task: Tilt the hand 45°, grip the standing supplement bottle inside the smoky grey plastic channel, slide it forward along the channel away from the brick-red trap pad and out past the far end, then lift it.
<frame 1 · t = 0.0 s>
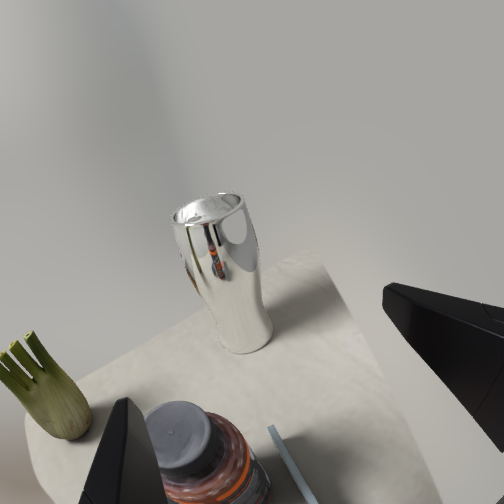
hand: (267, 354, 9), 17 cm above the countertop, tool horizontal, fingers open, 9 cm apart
supplement bottle: (234, 493, 18), on the countertop
fennel bulb: (79, 428, 25), on the countertop
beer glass: (246, 334, 34), on the countertop
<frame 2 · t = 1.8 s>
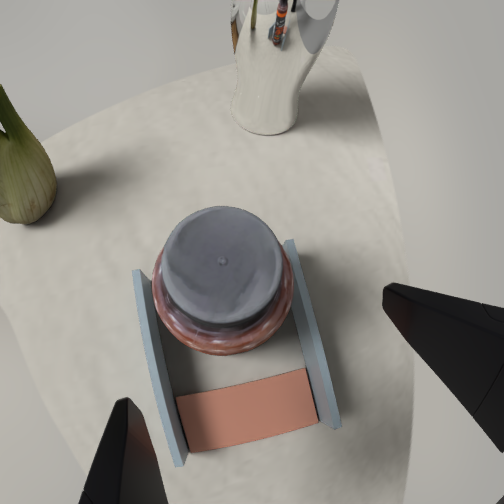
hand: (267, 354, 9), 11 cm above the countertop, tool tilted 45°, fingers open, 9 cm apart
channel: (233, 355, 20), on the countertop
supplement bottle: (223, 311, 21), on the countertop
fennel bulb: (39, 204, 22), on the countertop
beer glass: (263, 112, 27), on the countertop
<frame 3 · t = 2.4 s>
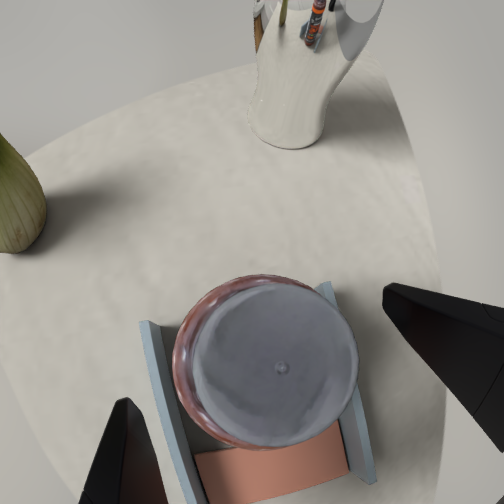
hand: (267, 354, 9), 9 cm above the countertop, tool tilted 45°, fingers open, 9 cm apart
channel: (258, 409, 16), on the countertop
supplement bottle: (246, 360, 17), on the countertop
fennel bulb: (27, 229, 19), on the countertop
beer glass: (284, 121, 23), on the countertop
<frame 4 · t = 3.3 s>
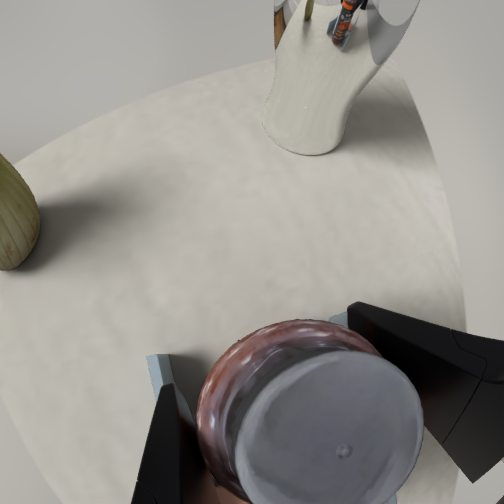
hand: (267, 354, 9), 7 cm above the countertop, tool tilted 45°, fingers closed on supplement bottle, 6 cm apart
channel: (276, 441, 15), on the countertop
supplement bottle: (263, 390, 16), on the countertop, touching gripper
fennel bulb: (20, 242, 17), on the countertop
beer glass: (301, 124, 21), on the countertop
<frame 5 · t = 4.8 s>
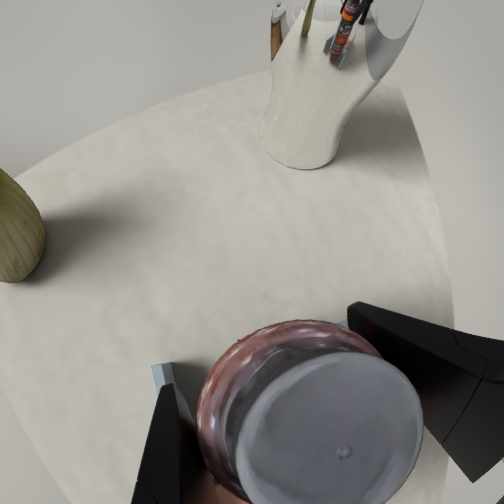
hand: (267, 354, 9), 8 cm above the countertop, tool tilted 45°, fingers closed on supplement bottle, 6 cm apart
channel: (272, 442, 16), on the countertop
supplement bottle: (263, 390, 16), point 1 cm above the countertop, touching gripper
fennel bulb: (26, 254, 18), on the countertop
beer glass: (297, 138, 22), on the countertop
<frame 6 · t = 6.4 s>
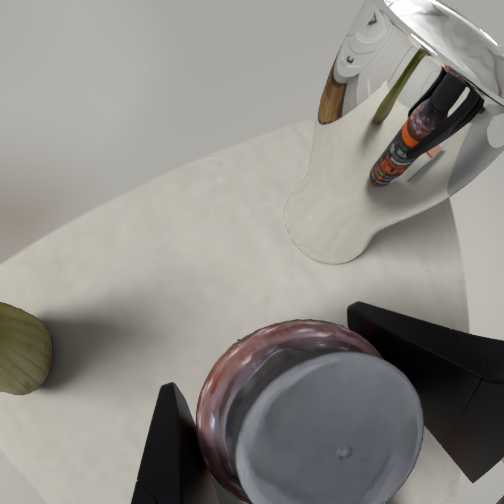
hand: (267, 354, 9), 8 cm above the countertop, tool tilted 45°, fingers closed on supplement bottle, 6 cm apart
supplement bottle: (263, 390, 16), point 1 cm above the countertop, touching gripper
fennel bulb: (32, 355, 16), on the countertop
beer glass: (327, 221, 20), on the countertop
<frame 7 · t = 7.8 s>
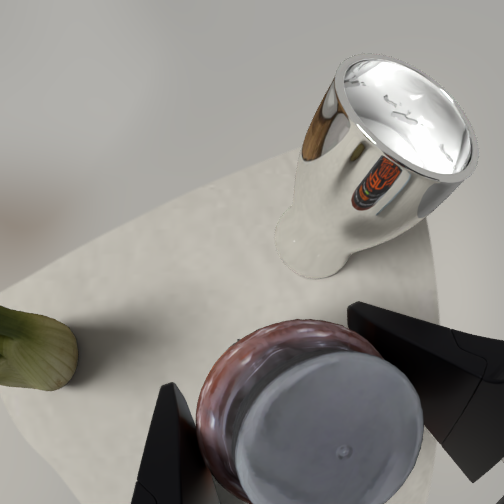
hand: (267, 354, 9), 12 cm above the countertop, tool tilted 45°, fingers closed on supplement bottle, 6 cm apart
supplement bottle: (263, 389, 16), point 5 cm above the countertop, touching gripper
fennel bulb: (59, 356, 19), on the countertop
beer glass: (312, 241, 24), on the countertop
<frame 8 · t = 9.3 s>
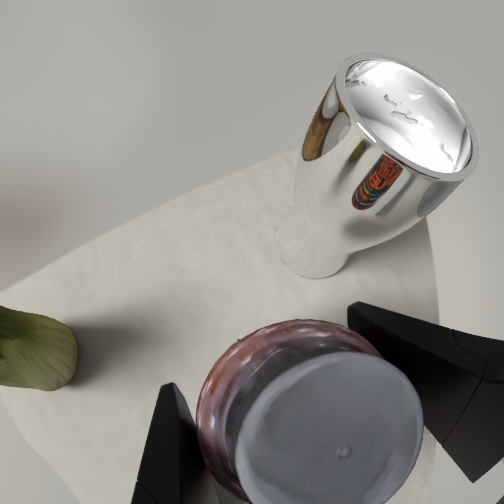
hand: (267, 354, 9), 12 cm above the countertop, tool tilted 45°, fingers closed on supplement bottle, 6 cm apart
supplement bottle: (263, 389, 16), point 5 cm above the countertop, touching gripper
fennel bulb: (59, 356, 19), on the countertop
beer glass: (312, 241, 24), on the countertop
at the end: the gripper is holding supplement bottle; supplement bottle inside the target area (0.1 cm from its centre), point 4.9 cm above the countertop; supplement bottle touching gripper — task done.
